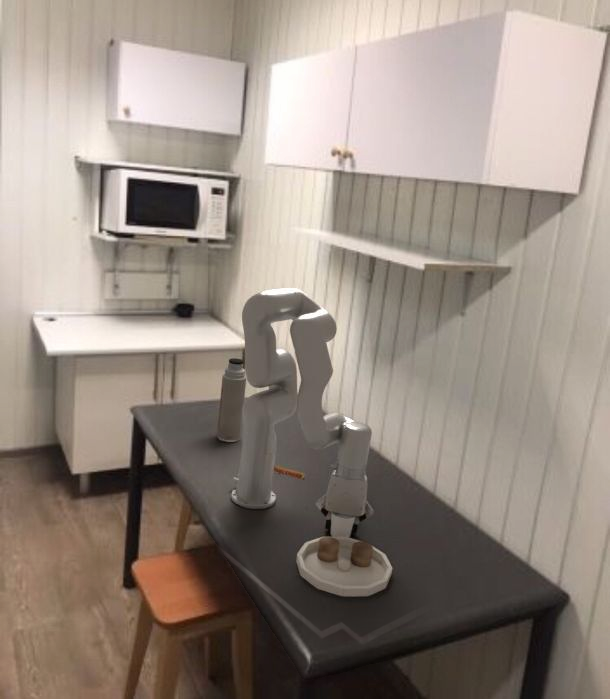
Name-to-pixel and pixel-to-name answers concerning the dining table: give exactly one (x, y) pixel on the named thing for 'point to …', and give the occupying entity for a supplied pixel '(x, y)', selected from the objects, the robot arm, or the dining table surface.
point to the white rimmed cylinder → (341, 525)
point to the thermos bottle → (232, 400)
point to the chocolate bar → (289, 472)
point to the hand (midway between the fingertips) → (340, 532)
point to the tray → (343, 570)
